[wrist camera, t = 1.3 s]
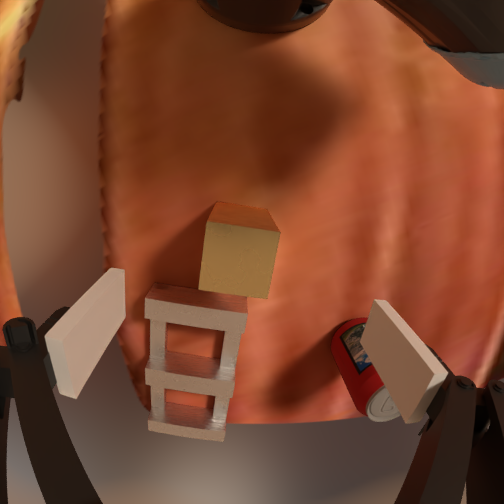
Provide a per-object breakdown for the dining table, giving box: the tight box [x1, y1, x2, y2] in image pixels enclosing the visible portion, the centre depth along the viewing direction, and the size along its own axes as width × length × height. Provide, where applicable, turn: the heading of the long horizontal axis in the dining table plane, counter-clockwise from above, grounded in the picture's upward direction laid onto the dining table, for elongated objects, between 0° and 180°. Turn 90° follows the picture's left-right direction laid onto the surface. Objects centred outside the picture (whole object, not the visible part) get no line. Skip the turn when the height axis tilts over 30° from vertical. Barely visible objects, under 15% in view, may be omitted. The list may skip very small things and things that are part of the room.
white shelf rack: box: [145, 282, 248, 442], centre depth 34 cm, size 20×10×4 cm, turn 171°
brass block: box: [198, 202, 280, 299], centre depth 26 cm, size 5×5×10 cm
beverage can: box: [331, 318, 401, 422], centre depth 30 cm, size 7×7×12 cm
